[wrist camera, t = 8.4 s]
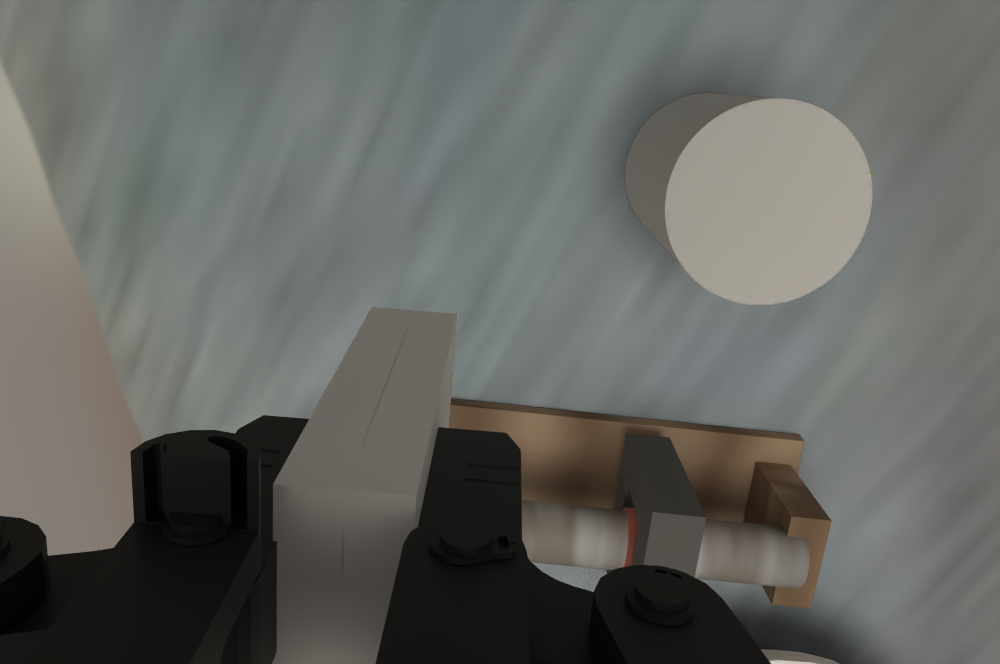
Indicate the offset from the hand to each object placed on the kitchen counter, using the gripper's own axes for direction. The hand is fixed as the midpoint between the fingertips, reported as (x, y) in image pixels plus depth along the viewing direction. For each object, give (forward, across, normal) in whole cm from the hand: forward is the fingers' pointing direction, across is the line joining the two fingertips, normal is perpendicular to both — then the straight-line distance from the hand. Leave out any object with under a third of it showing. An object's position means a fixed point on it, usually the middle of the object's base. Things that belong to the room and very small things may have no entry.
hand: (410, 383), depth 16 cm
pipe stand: (+31, +6, -17) cm, 36 cm away
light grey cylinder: (+32, +12, 0) cm, 34 cm away
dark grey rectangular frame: (+29, +10, -17) cm, 35 cm away
